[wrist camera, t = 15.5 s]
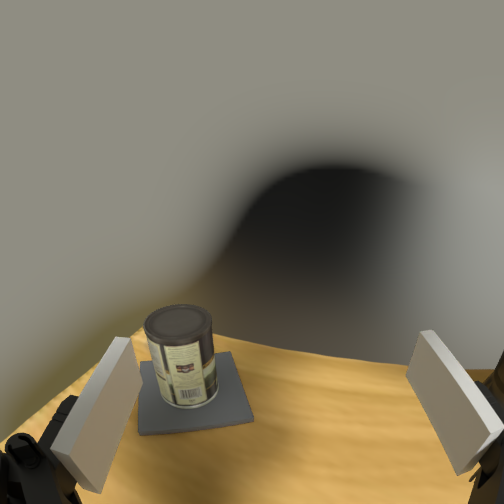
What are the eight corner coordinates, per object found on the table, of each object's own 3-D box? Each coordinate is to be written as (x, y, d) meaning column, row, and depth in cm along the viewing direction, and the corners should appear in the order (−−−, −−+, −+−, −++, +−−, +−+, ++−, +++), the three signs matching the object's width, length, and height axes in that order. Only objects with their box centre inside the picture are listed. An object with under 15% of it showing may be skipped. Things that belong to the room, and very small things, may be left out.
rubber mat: (230, 355, 59) (230, 351, 59) (254, 421, 43) (254, 417, 42) (141, 365, 55) (140, 361, 54) (139, 435, 38) (138, 431, 38)
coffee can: (196, 362, 55) (188, 297, 51) (231, 391, 48) (226, 322, 43) (149, 383, 49) (132, 317, 44) (179, 418, 41) (163, 349, 37)
